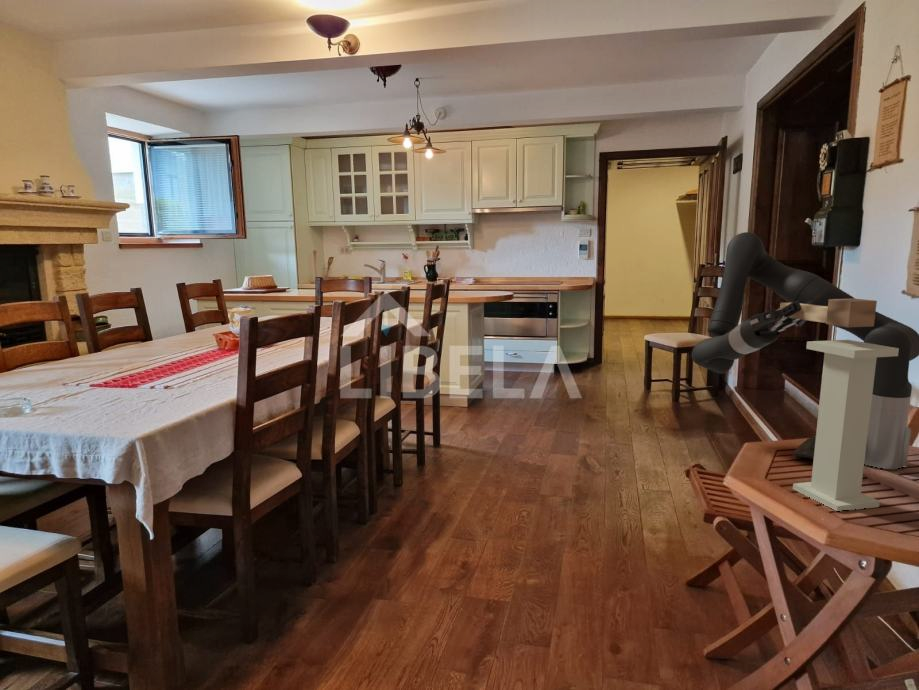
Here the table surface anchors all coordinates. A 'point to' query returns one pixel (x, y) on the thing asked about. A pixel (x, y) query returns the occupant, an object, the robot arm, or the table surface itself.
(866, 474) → the table surface
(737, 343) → the robot arm
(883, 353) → the stand
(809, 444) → the decorative stone
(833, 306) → the mallet
